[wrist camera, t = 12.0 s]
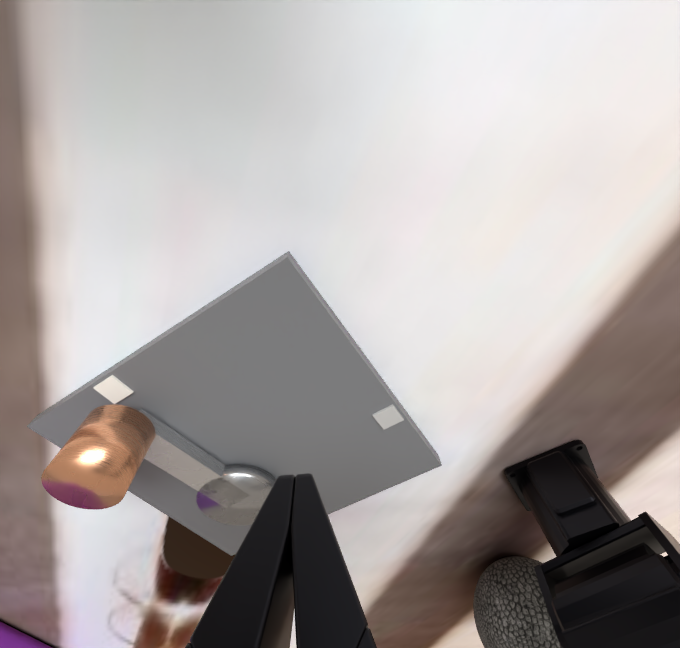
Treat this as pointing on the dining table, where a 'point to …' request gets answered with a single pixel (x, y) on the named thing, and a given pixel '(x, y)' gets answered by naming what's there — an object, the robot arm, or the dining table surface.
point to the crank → (158, 448)
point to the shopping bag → (17, 639)
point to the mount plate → (259, 400)
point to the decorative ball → (512, 606)
